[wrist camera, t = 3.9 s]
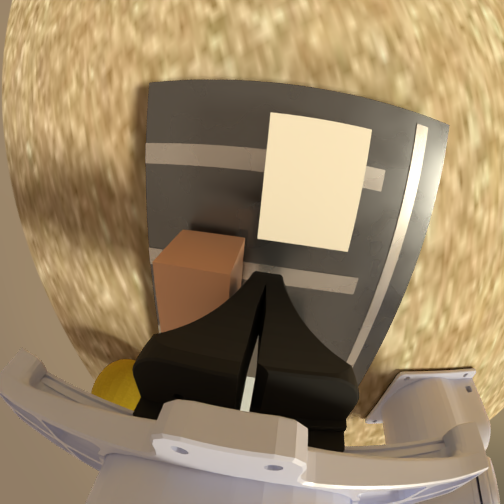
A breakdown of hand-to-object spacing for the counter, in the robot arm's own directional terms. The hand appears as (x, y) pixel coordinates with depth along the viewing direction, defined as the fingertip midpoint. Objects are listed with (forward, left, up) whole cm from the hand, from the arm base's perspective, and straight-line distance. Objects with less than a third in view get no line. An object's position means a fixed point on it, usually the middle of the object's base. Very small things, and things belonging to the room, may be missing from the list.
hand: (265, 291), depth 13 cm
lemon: (+10, +13, -4) cm, 16 cm away
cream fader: (-1, -5, -1) cm, 6 cm away
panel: (-1, 0, -4) cm, 4 cm away
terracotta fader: (+3, 0, -1) cm, 3 cm away
